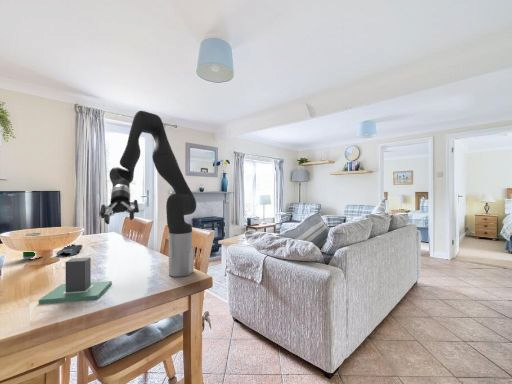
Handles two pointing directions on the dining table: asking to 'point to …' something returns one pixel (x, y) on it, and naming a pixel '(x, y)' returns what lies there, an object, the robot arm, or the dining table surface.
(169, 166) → the robot arm
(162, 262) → the dining table surface
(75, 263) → the block
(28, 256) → the soda can
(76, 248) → the electronic device
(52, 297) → the pin board
